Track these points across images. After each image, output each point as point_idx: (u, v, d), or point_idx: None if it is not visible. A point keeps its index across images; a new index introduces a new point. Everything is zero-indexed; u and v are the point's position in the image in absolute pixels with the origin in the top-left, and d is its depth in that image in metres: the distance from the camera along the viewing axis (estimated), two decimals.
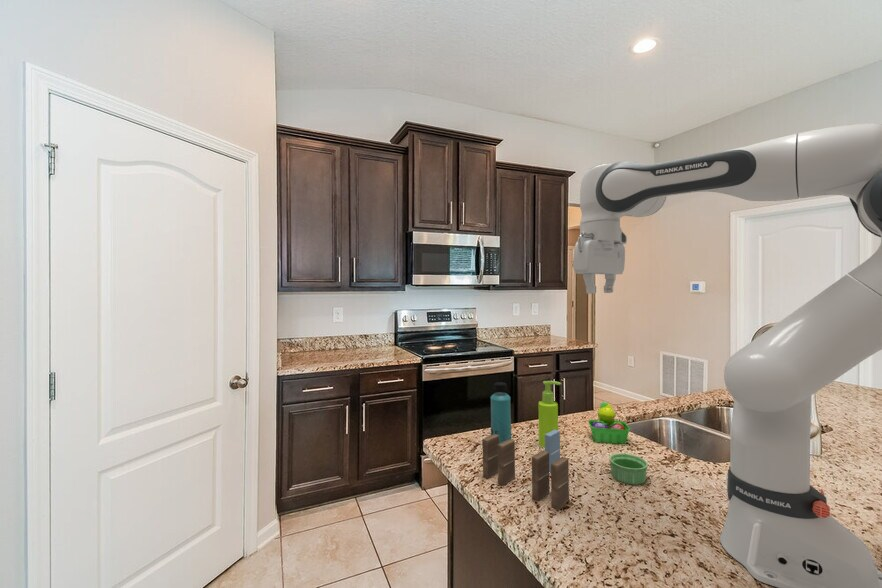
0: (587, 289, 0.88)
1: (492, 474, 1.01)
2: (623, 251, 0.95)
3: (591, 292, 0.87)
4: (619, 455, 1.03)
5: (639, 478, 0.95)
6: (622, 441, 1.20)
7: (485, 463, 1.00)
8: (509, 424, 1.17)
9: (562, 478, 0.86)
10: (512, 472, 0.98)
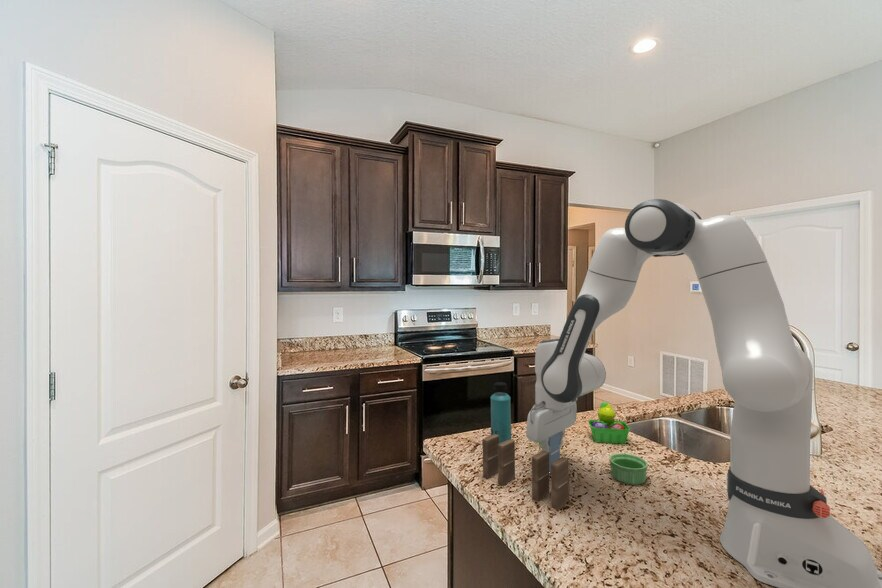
0: (542, 448, 1.02)
1: (492, 474, 1.01)
2: (574, 406, 1.08)
3: None
4: (619, 455, 1.03)
5: (639, 478, 0.95)
6: (622, 441, 1.20)
7: (485, 463, 1.00)
8: (509, 424, 1.17)
9: (562, 478, 0.86)
10: (512, 472, 0.98)
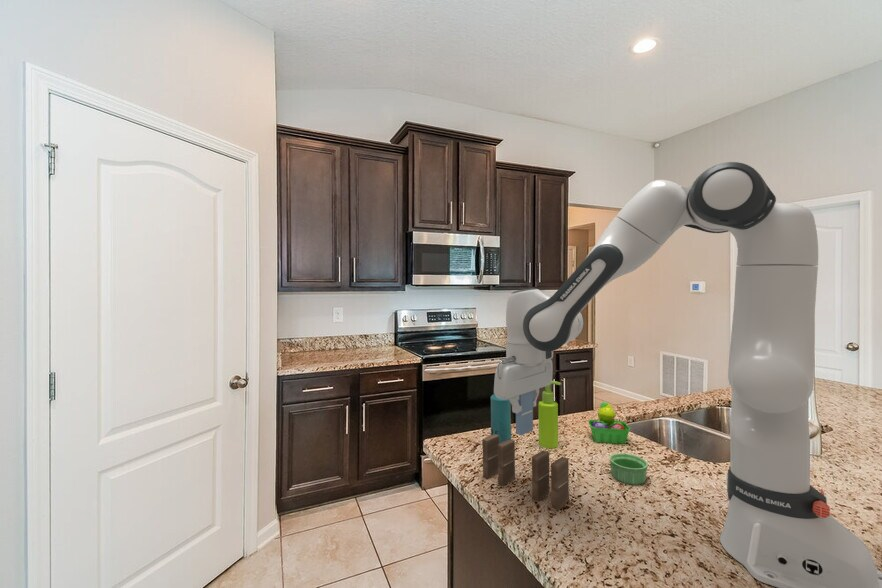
0: (513, 408, 0.93)
1: (492, 474, 1.01)
2: (550, 364, 0.99)
3: (516, 412, 0.92)
4: (619, 455, 1.03)
5: (639, 478, 0.95)
6: (622, 441, 1.20)
7: (485, 463, 1.00)
8: (509, 424, 1.17)
9: (562, 478, 0.86)
10: (512, 472, 0.98)
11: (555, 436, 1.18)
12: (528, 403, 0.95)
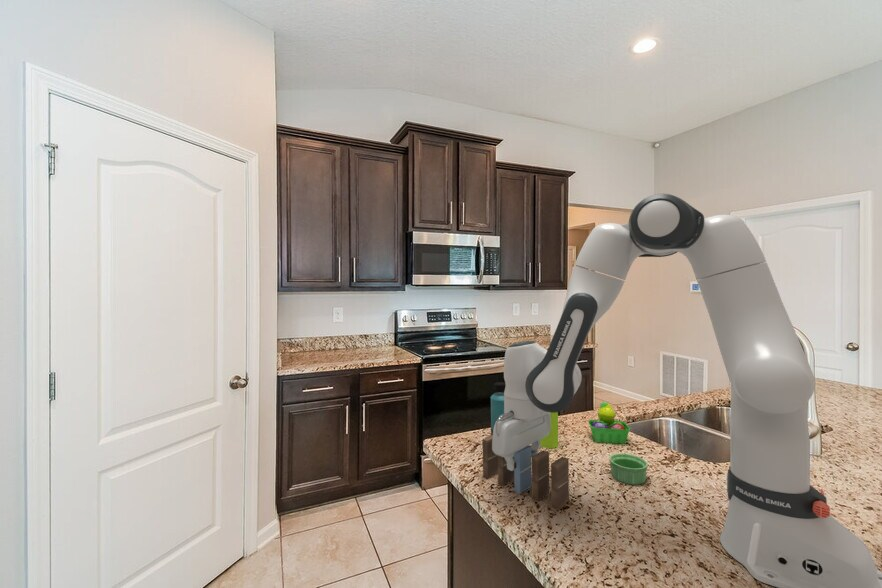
0: (507, 465, 0.91)
1: (492, 474, 1.01)
2: (548, 415, 0.98)
3: (511, 469, 0.90)
4: (619, 455, 1.03)
5: (639, 478, 0.95)
6: (622, 441, 1.20)
7: (485, 463, 1.00)
8: None
9: (562, 478, 0.86)
10: (512, 472, 0.98)
11: (555, 436, 1.18)
12: (527, 459, 0.94)
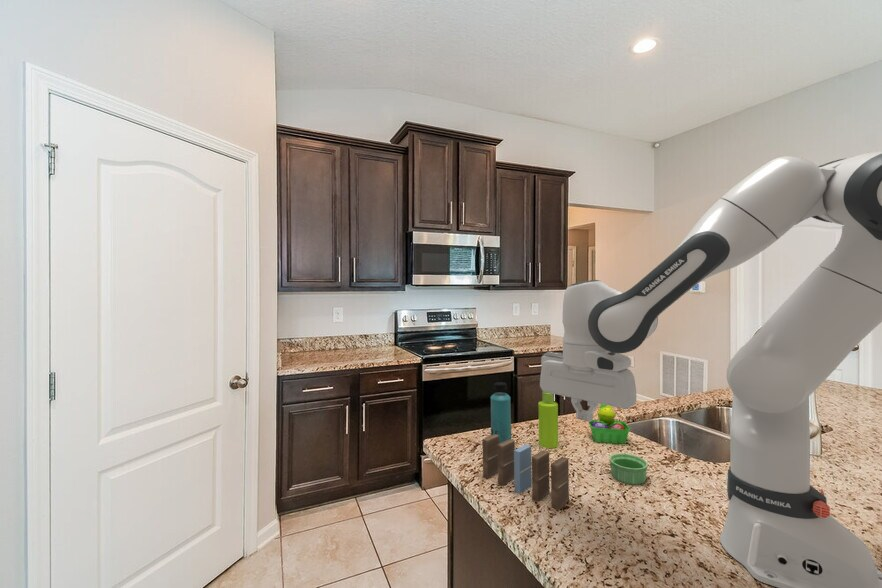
0: None
1: (492, 474, 1.01)
2: (619, 380, 0.75)
3: None
4: (619, 455, 1.03)
5: (639, 478, 0.95)
6: (622, 441, 1.20)
7: (485, 463, 1.00)
8: (509, 424, 1.17)
9: (562, 478, 0.86)
10: (512, 472, 0.98)
11: (555, 436, 1.18)
12: (526, 459, 0.94)
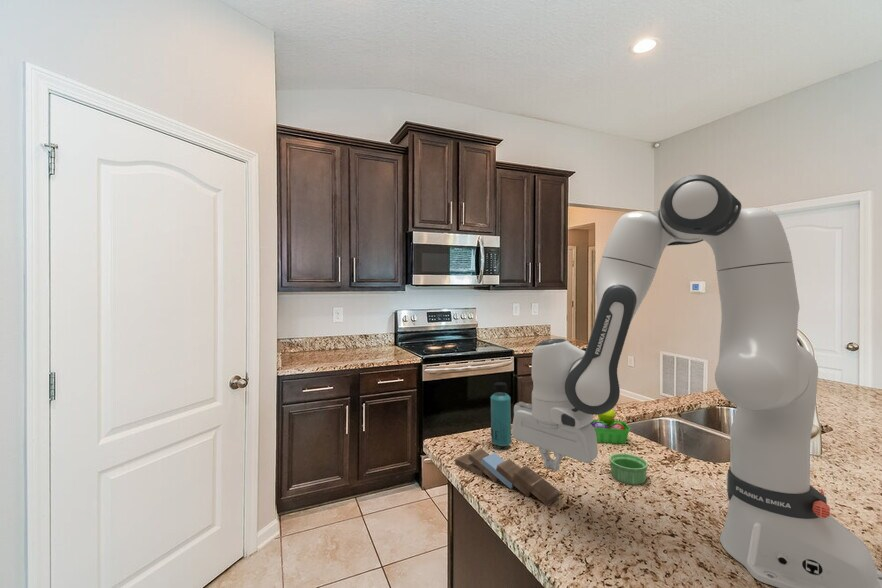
0: None
1: None
2: (580, 436, 0.81)
3: None
4: (619, 455, 1.03)
5: (639, 478, 0.95)
6: (622, 441, 1.20)
7: (471, 468, 1.03)
8: (509, 424, 1.17)
9: (531, 478, 0.92)
10: None
11: None
12: (497, 461, 1.01)
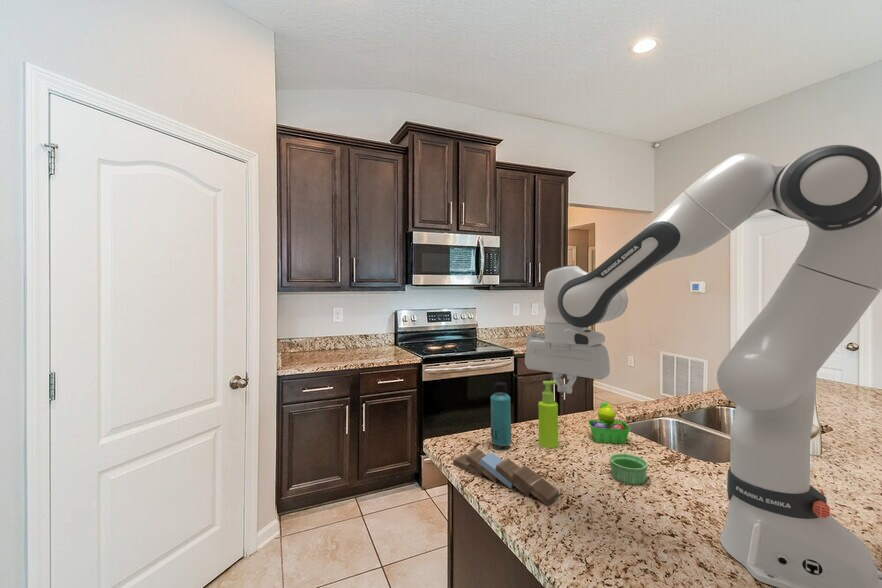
0: None
1: None
2: (593, 354, 0.84)
3: None
4: (619, 455, 1.03)
5: (639, 478, 0.95)
6: (622, 441, 1.20)
7: (469, 468, 1.03)
8: (509, 424, 1.17)
9: (530, 478, 0.92)
10: None
11: (555, 436, 1.18)
12: (496, 461, 1.01)
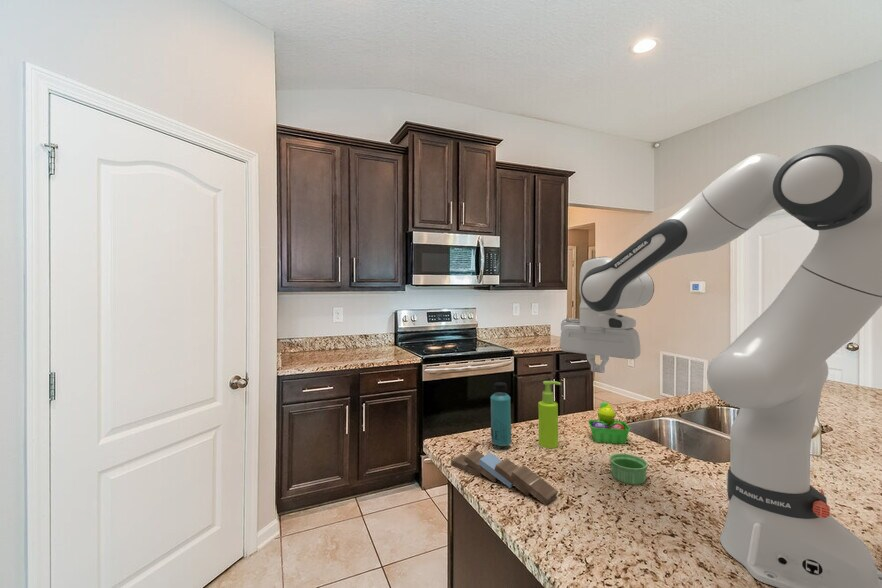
0: None
1: None
2: (626, 336, 0.93)
3: None
4: (619, 455, 1.03)
5: (639, 478, 0.95)
6: (622, 441, 1.20)
7: (468, 468, 1.03)
8: (509, 424, 1.17)
9: (529, 477, 0.92)
10: None
11: (555, 436, 1.18)
12: (494, 461, 1.01)
